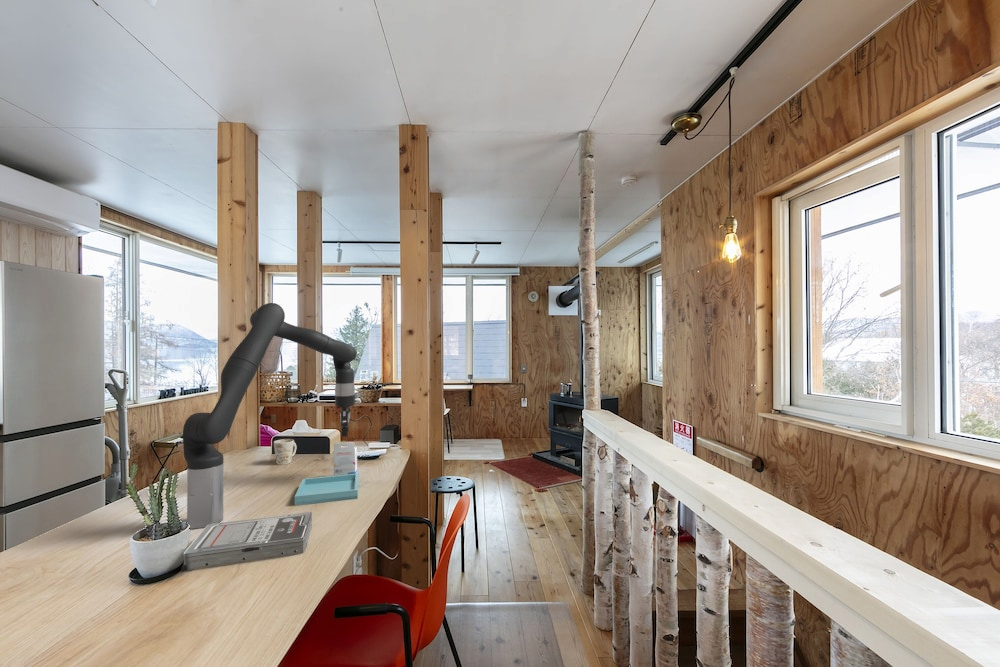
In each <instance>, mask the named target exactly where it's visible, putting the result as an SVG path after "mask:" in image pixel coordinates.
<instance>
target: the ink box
mask: <svg viewBox="0 0 1000 667" xmlns="http://www.w3.org/2000/svg"><path fill="white" fill-rule="evenodd" d="M355 445H356V443H355V441H353V442H352V441H351V442H334V443H333V452H332V453H333V455H332V456H333V458H332V459H333V476H338V475H348V474H358V451H357V450H358V447H357V446H355ZM344 446H345V447H344Z"/></svg>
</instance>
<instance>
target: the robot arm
mask: <svg viewBox="0 0 1000 667" xmlns="http://www.w3.org/2000/svg"><path fill="white" fill-rule="evenodd" d="M285 316H286V315H285V311H284V309H283V307H282V306H281V305H280V304H277V303H275V302H270V303H269V302H268V303H265V304H263V305H261V306H260V307H258V308H257V309H256V310H254V311H253V313H252V314H251V315H250V317H249V319H250V320H249V322H250V324H251V328H250V330H249V331H248V333H247V334H246V336H244V338H243V340H242V341H241V342H240V343H239V344H238V345H237V346H236V348H235V349H234V350H233V352H232V354H231V355H230V356H229V358H228V360H227V361H226V363H225V365H224V366H223V368H222V371H221V374H220V395H219V398H218V401H217V402H216V405H215V406H214V408H213V410H212V411H211V412H196V413H193V414H190V416H188V417H187V419H186V420H185V422H184V425H183V428H182V444H183V446H182V447H183V457H184V460H185V462H186V467H187V468H186V469H187V471H186V474H187V475H186V476H187V477H186V482H187V483H186V519H187V520H186V523H187V522H188V524H189V525H190V529H189V530H192V529H199V528H205V527H206V526H207V525H209V524H214V523H221V522H223V520H224V467H225V465H224V459H225V458H224V454H223V453H222V452H220V451H219V450H217V448H216V447H215V446H214V445H216V444H219V443H221V442H222V441H223V440H224V439H225V438H226V437H227V435H229V432H230V430H231V428H232V425H233V423H234V420H235V418H236V415H237V413H238V410H239V408H240V405H241V403H242V400H243V399H244V397H245V395H246V392H247V391H248V388H249V387H250V384H251V382H252V381H253V379H254V378H255V375H256V374H257V372H258V370H259V368H260V366H261V363H262V361H263V359H264V358H265V355H266V352H267V350H268V347H269V345H270V343H271V342H272V340H273V338H274V337H278V338H280V339H284V340H288V341H290V342H293V343H297V344H300V345H302V346H304V347H306V348H308V349H311V350H312V351H315V352H319V353H321V354H324V355H328V356H331V357H332V361H333V366H334V370H335V387H334V406H335V407H337V408H341V410H339V416H340V417H339V418H340V420H339V421H340V427H341V437H342V438H344V437H345V438H346V437H347V438H348V436H349V430H350V429H349V427H350V425H349V424H350V423H349V422H350V420H351V409H350V407H354V406H355V405H356V398H355V395H356V394H355V393H356V392H355V391H356V390H355V389H356V388H355V372H354V370H353V369H354V368H352V367H351V362H353V361H354V360H355V359H356V358H357V355H358V354H357V350H356V348H354V347H353V345H351V344H348V343H346V342H344V341H340V340H337V339H334V338H332V337H330V336H328V335H326V334H324V333H322V332H319V331H318V330H314V329H312V328H306V327H301V326H297V325H293V324H290V323H288V322H286V321H285V319H286V318H285Z"/></svg>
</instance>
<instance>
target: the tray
mask: <svg viewBox="0 0 1000 667" xmlns="http://www.w3.org/2000/svg"><path fill="white" fill-rule="evenodd" d="M358 493H359V473H357V474H348V475H338V476H334V475H328V476H321V477H320V476H319V477H317V476H316V477H309V478H307V477H306V478H302V480H301V482H300V485H299V487H298V489H297V490H296V493H295V495H294V506H302V505H303V506H305V505H314V504H320V503H322V504H323V503H328V502H329V503H330V502H331V503H332V502H339V501H348V500H355V499H356V500H357V499H358Z"/></svg>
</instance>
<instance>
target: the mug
mask: <svg viewBox="0 0 1000 667" xmlns="http://www.w3.org/2000/svg"><path fill="white" fill-rule="evenodd" d="M297 447H298V446H297V444H296V442H295V439H293V438H283V439H278V440H274V441H273V448H274V449H273V450H274V455H275V461H276V464H277V465H288V464H291V463H292V459H293V457H294V456H295V455H296V451H297Z"/></svg>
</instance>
